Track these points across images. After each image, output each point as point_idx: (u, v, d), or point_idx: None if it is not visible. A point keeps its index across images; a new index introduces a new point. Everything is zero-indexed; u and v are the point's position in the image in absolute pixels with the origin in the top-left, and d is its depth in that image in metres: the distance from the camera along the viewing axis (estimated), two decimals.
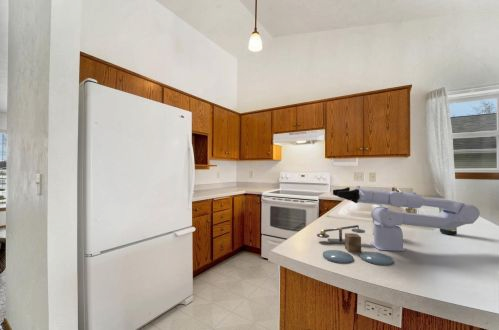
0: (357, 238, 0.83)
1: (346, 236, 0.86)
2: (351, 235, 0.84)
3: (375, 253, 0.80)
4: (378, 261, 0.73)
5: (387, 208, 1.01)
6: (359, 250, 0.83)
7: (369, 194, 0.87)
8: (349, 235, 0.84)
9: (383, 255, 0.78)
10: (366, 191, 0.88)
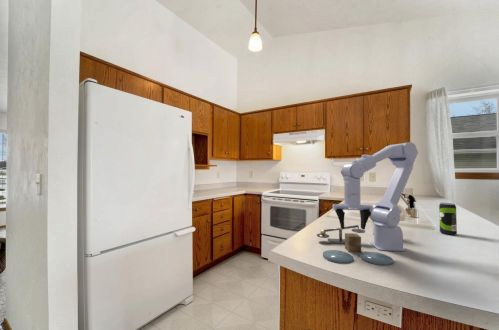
0: (357, 238, 0.83)
1: (346, 236, 0.86)
2: (351, 235, 0.84)
3: (375, 253, 0.80)
4: (378, 261, 0.73)
5: None
6: (359, 250, 0.83)
7: None
8: (349, 235, 0.85)
9: (383, 255, 0.78)
10: (359, 200, 0.83)
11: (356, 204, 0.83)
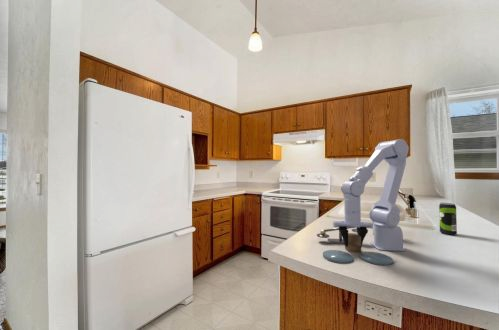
0: (357, 238, 0.83)
1: None
2: (351, 235, 0.84)
3: (375, 253, 0.80)
4: (378, 261, 0.73)
5: None
6: (359, 250, 0.83)
7: (360, 214, 0.84)
8: (349, 235, 0.85)
9: (383, 255, 0.78)
10: (359, 217, 0.83)
11: (356, 222, 0.82)
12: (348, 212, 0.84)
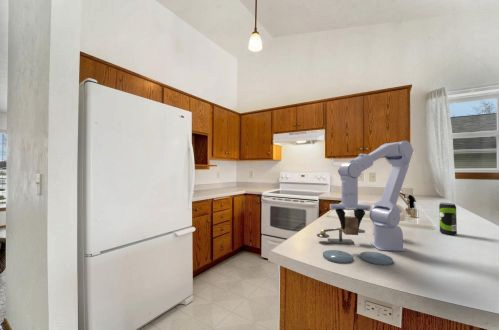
0: (354, 220, 0.82)
1: None
2: (348, 217, 0.83)
3: (375, 253, 0.80)
4: (378, 261, 0.73)
5: None
6: (356, 232, 0.81)
7: (357, 196, 0.83)
8: (346, 217, 0.83)
9: (383, 255, 0.78)
10: (356, 199, 0.82)
11: (353, 204, 0.81)
12: (345, 194, 0.83)
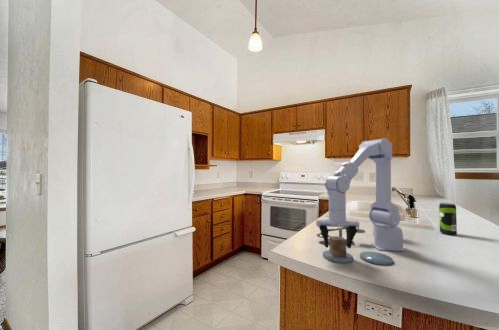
0: (342, 242, 0.76)
1: (330, 239, 0.79)
2: (336, 238, 0.77)
3: (375, 253, 0.80)
4: (378, 261, 0.73)
5: None
6: (344, 255, 0.76)
7: (345, 212, 0.77)
8: (333, 238, 0.77)
9: (383, 255, 0.78)
10: (344, 216, 0.76)
11: (341, 221, 0.75)
12: (332, 210, 0.77)
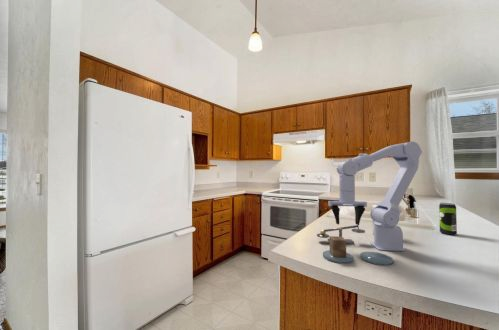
0: (342, 242, 0.76)
1: (330, 239, 0.79)
2: (336, 238, 0.77)
3: (375, 253, 0.80)
4: (378, 261, 0.73)
5: None
6: (344, 255, 0.76)
7: (354, 193, 0.87)
8: (333, 238, 0.77)
9: (383, 255, 0.78)
10: (353, 196, 0.86)
11: (350, 200, 0.86)
12: (343, 191, 0.87)
